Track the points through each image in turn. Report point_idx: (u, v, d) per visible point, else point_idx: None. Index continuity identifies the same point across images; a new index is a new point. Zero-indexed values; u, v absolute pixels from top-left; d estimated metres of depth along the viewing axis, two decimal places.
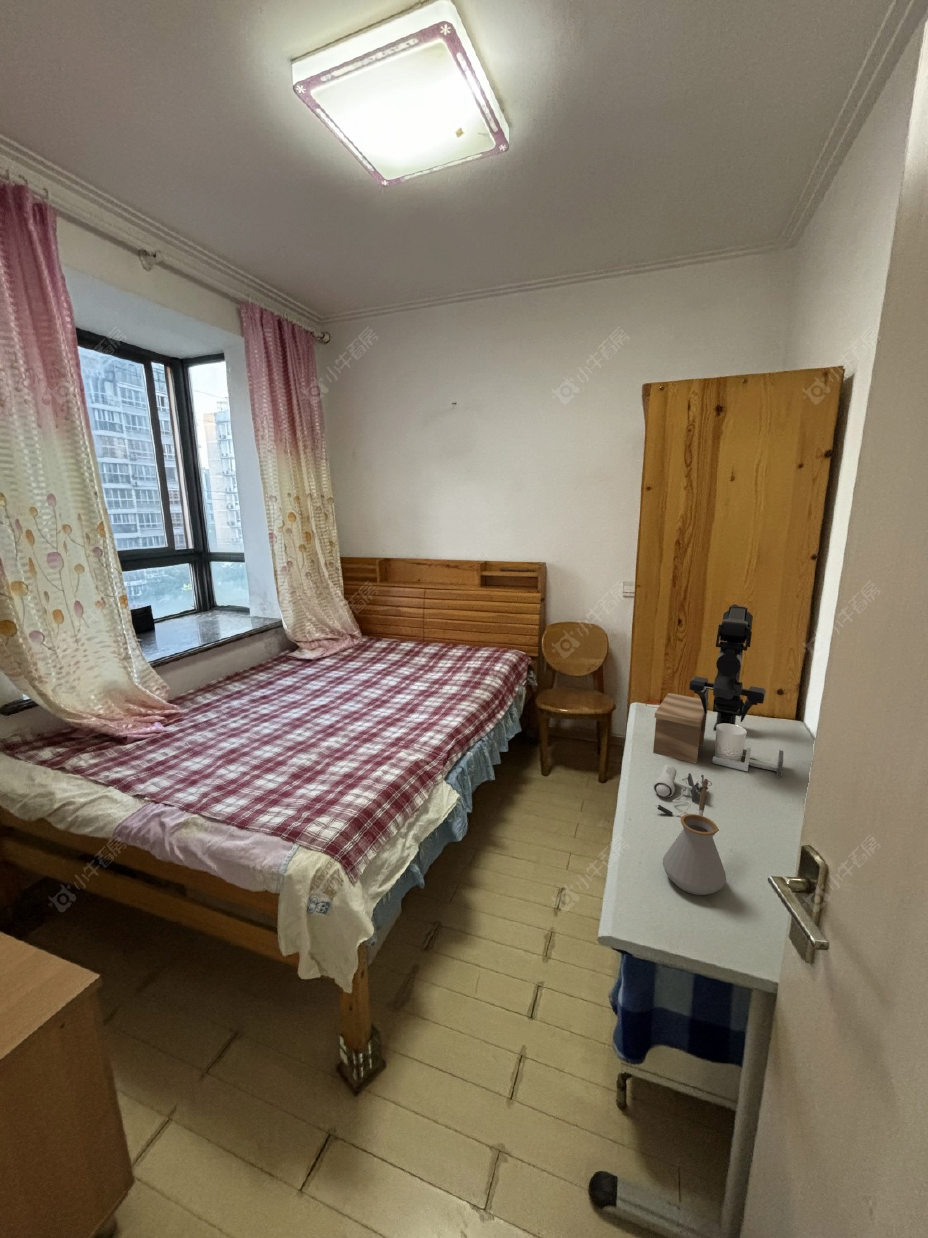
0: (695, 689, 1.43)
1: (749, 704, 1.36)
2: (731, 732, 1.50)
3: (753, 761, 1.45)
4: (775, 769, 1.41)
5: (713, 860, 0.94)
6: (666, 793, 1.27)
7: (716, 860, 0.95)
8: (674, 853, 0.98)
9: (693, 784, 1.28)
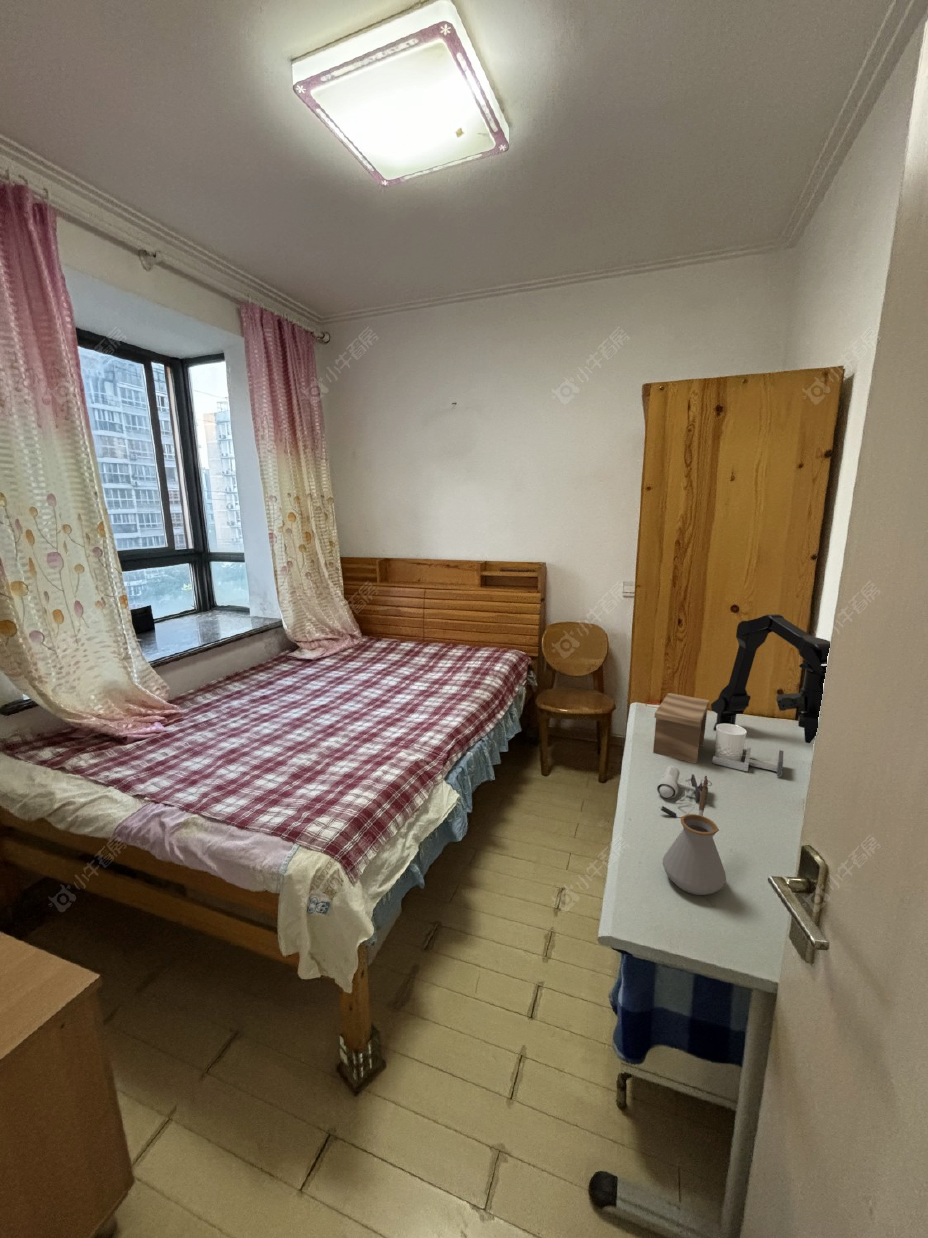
0: None
1: None
2: (731, 732, 1.50)
3: (753, 761, 1.45)
4: (775, 769, 1.41)
5: (713, 860, 0.94)
6: (669, 794, 1.26)
7: (716, 860, 0.95)
8: (674, 853, 0.98)
9: (696, 785, 1.27)
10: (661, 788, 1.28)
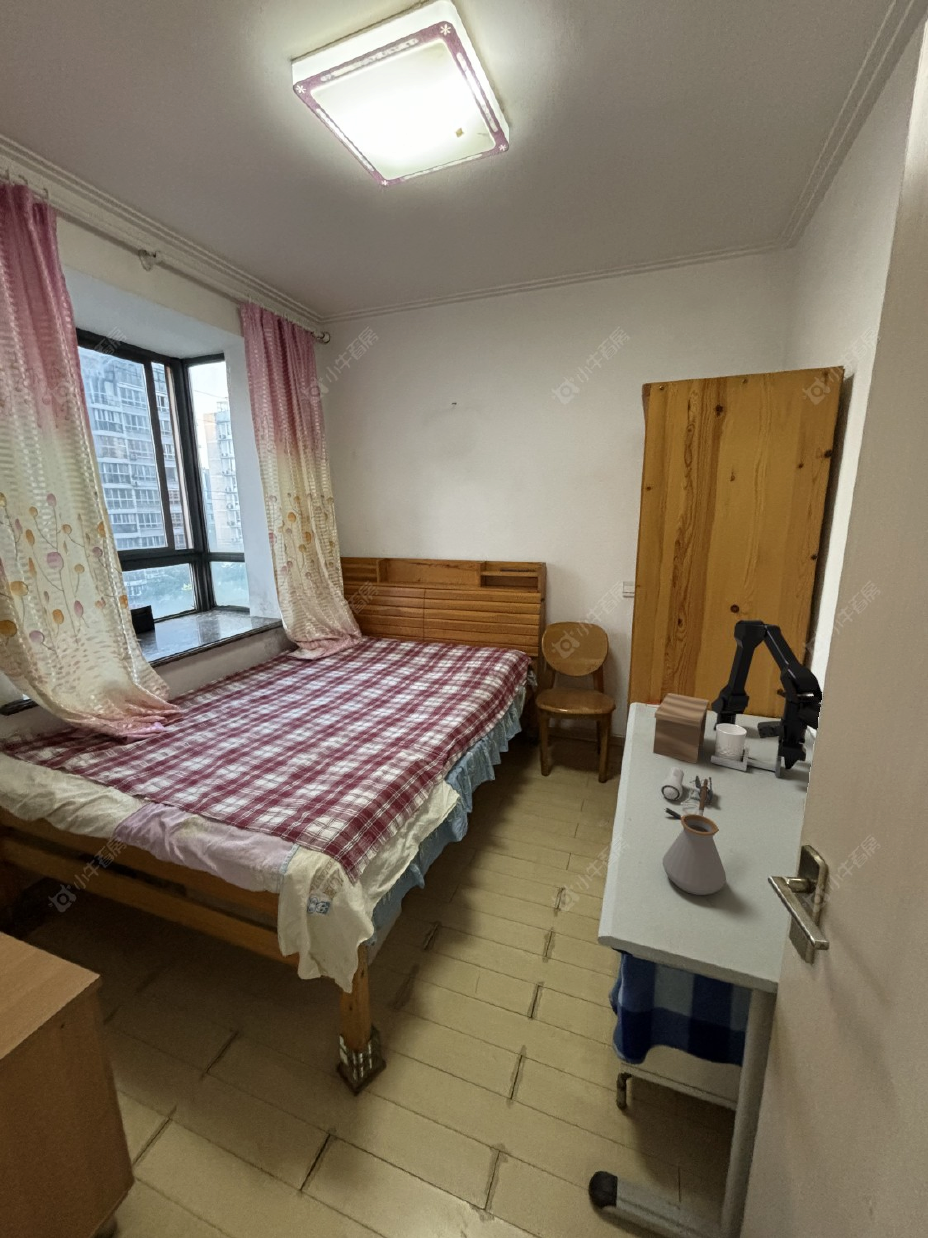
0: None
1: None
2: (731, 732, 1.50)
3: (751, 761, 1.45)
4: (773, 769, 1.41)
5: (713, 860, 0.94)
6: (674, 796, 1.26)
7: (716, 860, 0.95)
8: (674, 853, 0.98)
9: (701, 787, 1.27)
10: (665, 789, 1.27)
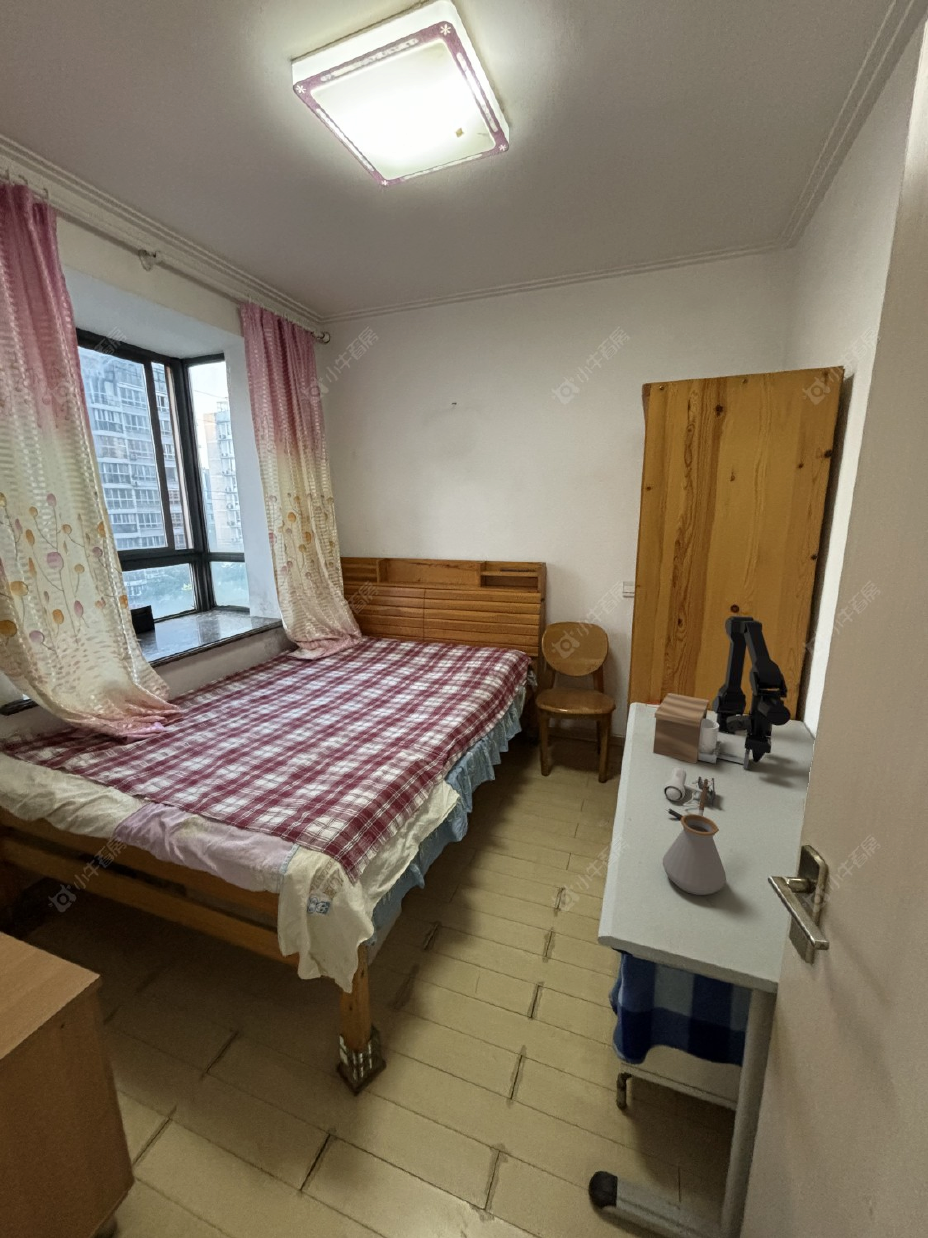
0: None
1: None
2: (705, 726, 1.54)
3: (721, 754, 1.49)
4: (742, 761, 1.45)
5: (713, 860, 0.94)
6: (676, 797, 1.25)
7: (716, 860, 0.95)
8: (674, 853, 0.98)
9: None
10: (668, 790, 1.26)
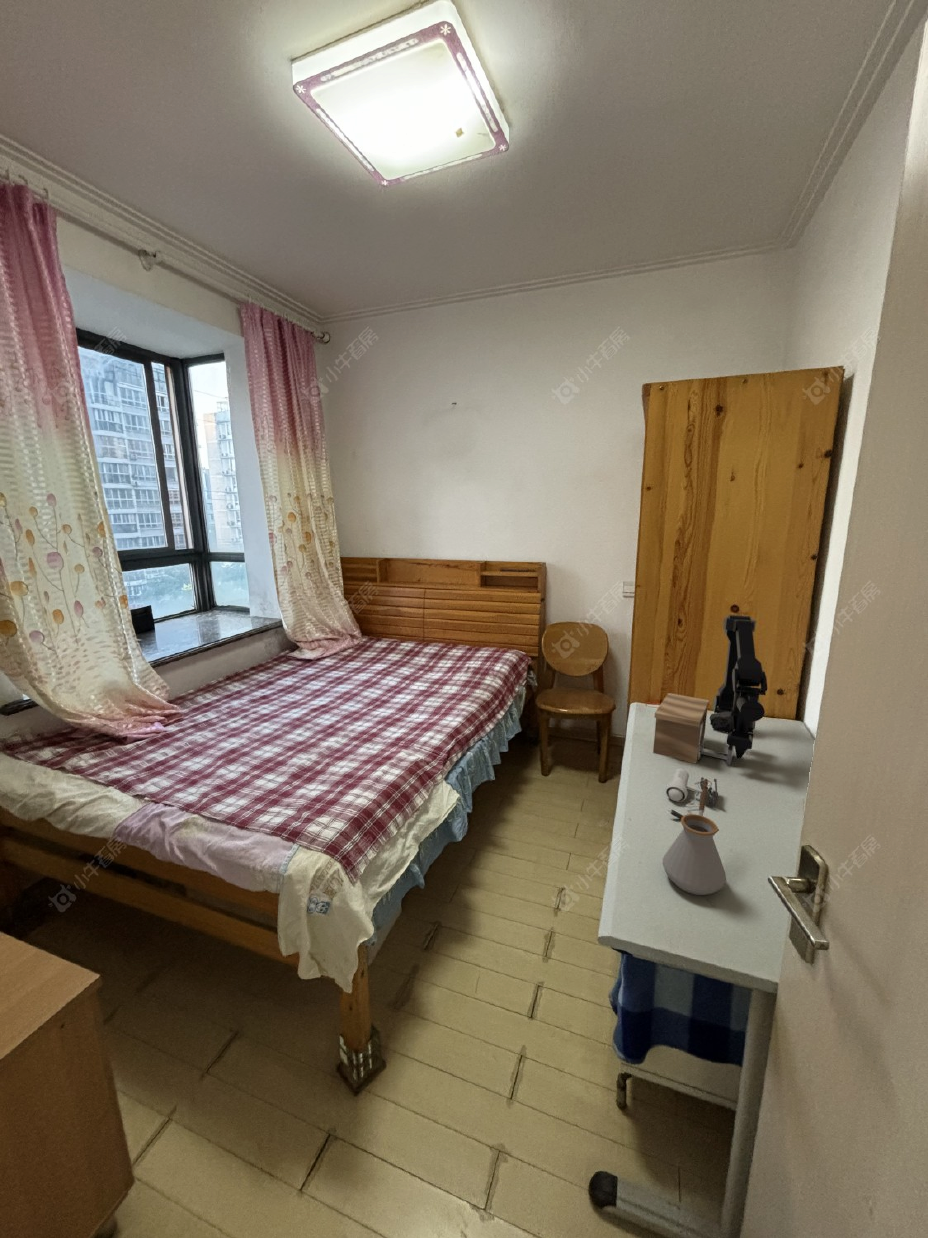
0: None
1: None
2: None
3: (705, 750, 1.51)
4: (725, 757, 1.48)
5: (713, 860, 0.94)
6: (679, 797, 1.25)
7: (716, 860, 0.95)
8: (674, 853, 0.98)
9: None
10: (670, 791, 1.26)
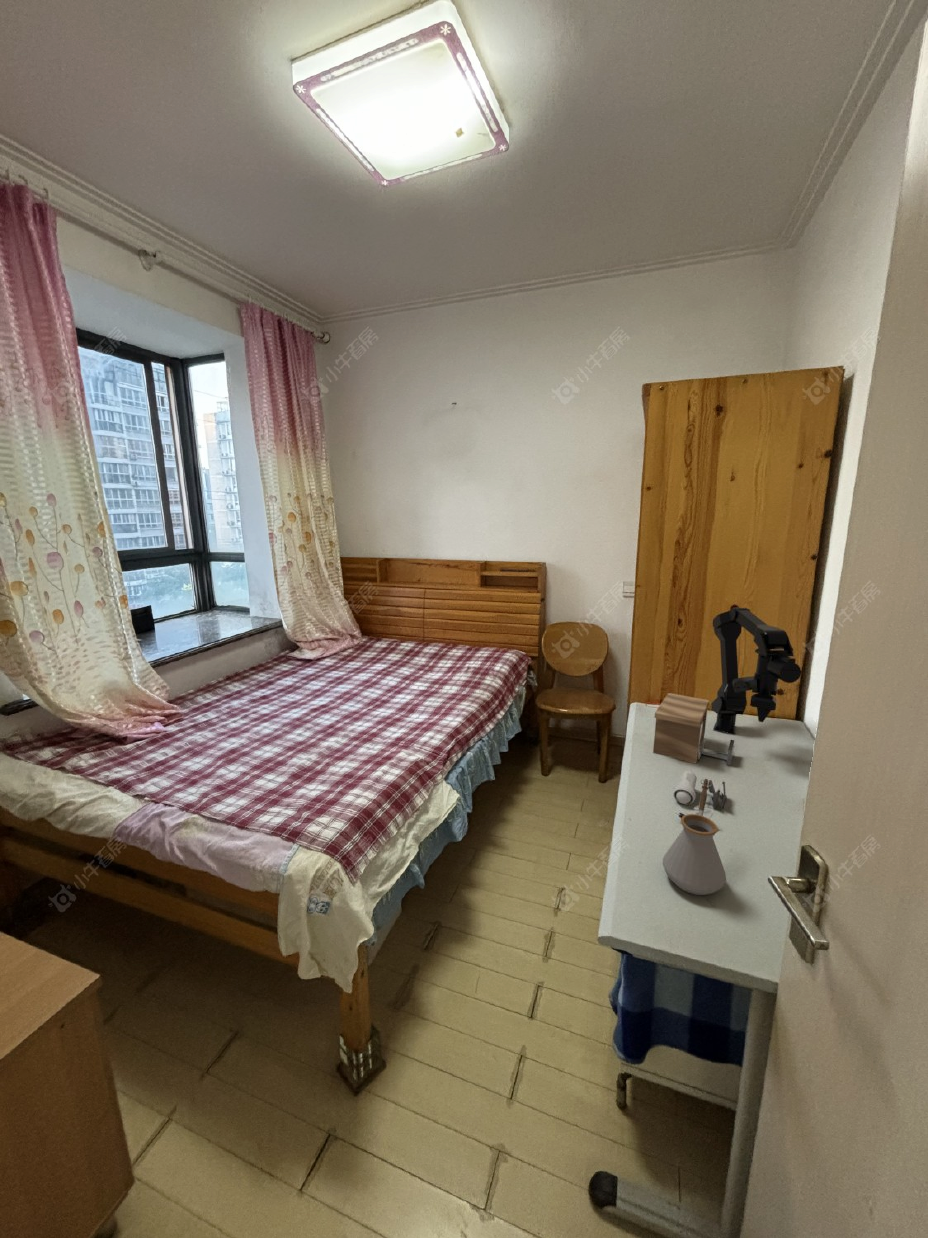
0: None
1: None
2: None
3: (706, 750, 1.51)
4: (725, 757, 1.48)
5: (713, 860, 0.94)
6: (687, 800, 1.24)
7: (716, 860, 0.95)
8: (674, 853, 0.98)
9: (714, 791, 1.25)
10: (678, 794, 1.25)
